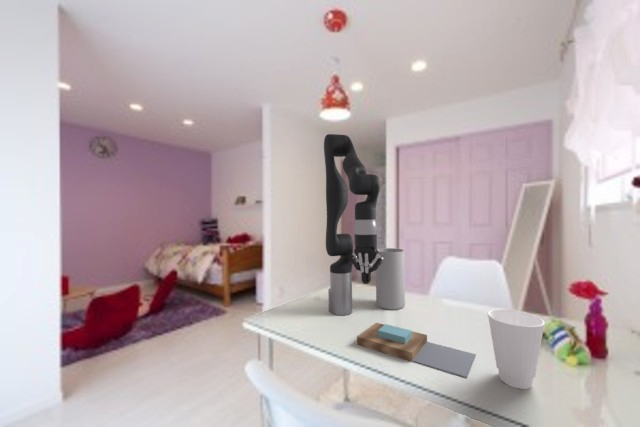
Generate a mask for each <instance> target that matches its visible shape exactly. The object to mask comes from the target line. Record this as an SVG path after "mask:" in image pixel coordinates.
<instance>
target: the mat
mask: <svg viewBox="0 0 640 427" xmlns="http://www.w3.org/2000/svg"><path fill="white" fill-rule="evenodd" d="M476 356H477V354H476V353H472V352H469V351H465V350H460V349H457V348H452V347H448V346H446V345H441V344H438V343H434V342H429V341H427V342H426V344H425V345H424V346H423V348H422V349H421V350H420V351H419V353H418V354H417V355H416V356H415V358H414V359H413V360H412V361H411V362H412V363H416V364H419V365H422V366H427V367H430V368H433V369H434V370H435V369H436V370H440V371H441V372H442V371H443V372H446V373H449V374H452V375H455V376H458V377H462V378H465V379H468V376H469V373H470V371H471V368H472V365H473V363H474V361H475V358H476Z"/></svg>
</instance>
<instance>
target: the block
mask: <svg viewBox="0 0 640 427" xmlns="http://www.w3.org/2000/svg"><path fill="white" fill-rule="evenodd" d="M384 325H385V324H383V323H379V322H374V324H372V325H370V326H369V327H368V328H367V329H365V330H364V331H362V332H361V333H360V334H359V335H357V336H356V345H358V346H361V347H365V348H368V349H371V350H374V351H378V352H381V353H383V354H388V355H389V356H390V355H391V356H393V357H397V358H400V359H403V360H407V361H410V362H413V361H412V360H413V359H414V358H415V356H416V355H417V354H418V353H419V351H420V350H421V349H422V348H423V346H424V345H425V344H426V342H428V335H427V334H424V333H421V332H416V331H413V330H412V337H411V338H410V340H409V341H408V342H407V343H406V344H404V343H400V342H396V341H393V340H389V339H385V338H382V337H378V330H379V329H380V328H381V327H383V326H384Z"/></svg>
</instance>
